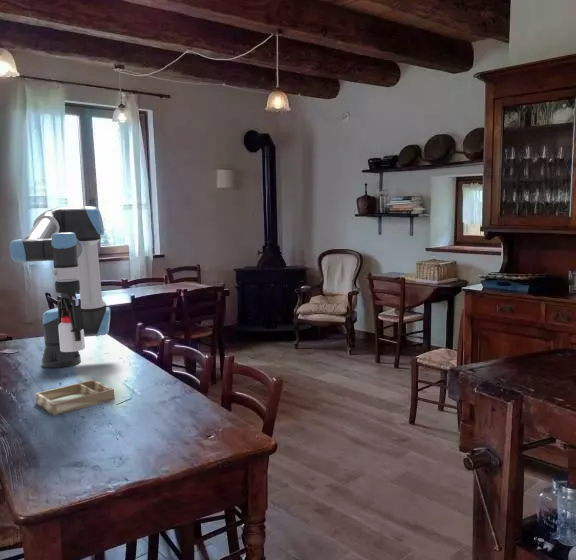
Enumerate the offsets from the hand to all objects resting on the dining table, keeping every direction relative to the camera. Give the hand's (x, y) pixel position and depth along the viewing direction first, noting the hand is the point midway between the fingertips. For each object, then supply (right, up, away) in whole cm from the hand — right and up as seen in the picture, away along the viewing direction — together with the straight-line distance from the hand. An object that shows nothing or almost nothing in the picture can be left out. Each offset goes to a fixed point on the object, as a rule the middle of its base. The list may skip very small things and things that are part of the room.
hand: (72, 348), depth 187 cm
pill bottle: (0, -1, 0) cm, 0 cm away
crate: (+1, -18, +1) cm, 18 cm away
